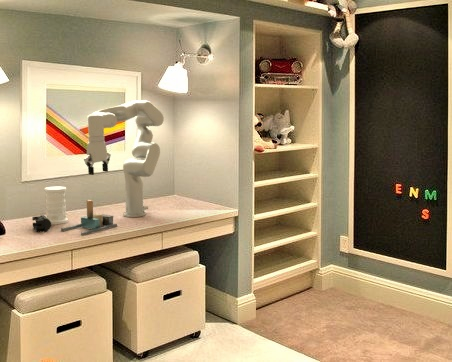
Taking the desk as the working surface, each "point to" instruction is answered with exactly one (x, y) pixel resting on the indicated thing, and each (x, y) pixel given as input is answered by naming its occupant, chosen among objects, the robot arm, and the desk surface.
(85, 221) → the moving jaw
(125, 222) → the desk surface
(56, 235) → the desk surface
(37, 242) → the desk surface
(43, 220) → the end cap
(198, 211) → the desk surface
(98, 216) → the beige cylinder
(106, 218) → the vise frame
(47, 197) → the decorative container
